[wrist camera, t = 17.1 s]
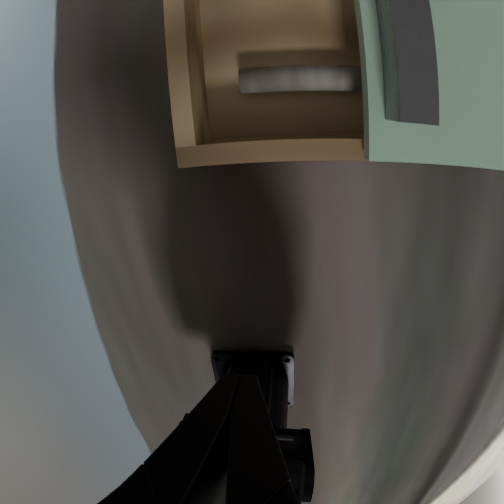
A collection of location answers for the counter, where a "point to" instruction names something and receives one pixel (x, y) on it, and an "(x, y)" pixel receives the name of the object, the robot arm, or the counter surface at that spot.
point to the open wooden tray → (264, 81)
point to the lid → (433, 81)
